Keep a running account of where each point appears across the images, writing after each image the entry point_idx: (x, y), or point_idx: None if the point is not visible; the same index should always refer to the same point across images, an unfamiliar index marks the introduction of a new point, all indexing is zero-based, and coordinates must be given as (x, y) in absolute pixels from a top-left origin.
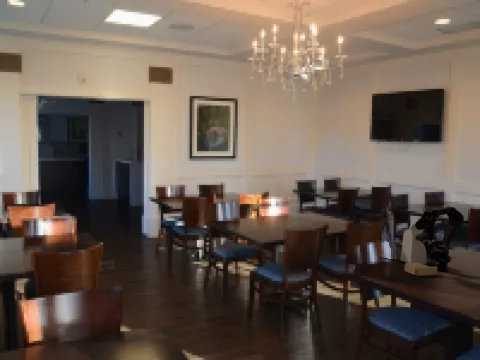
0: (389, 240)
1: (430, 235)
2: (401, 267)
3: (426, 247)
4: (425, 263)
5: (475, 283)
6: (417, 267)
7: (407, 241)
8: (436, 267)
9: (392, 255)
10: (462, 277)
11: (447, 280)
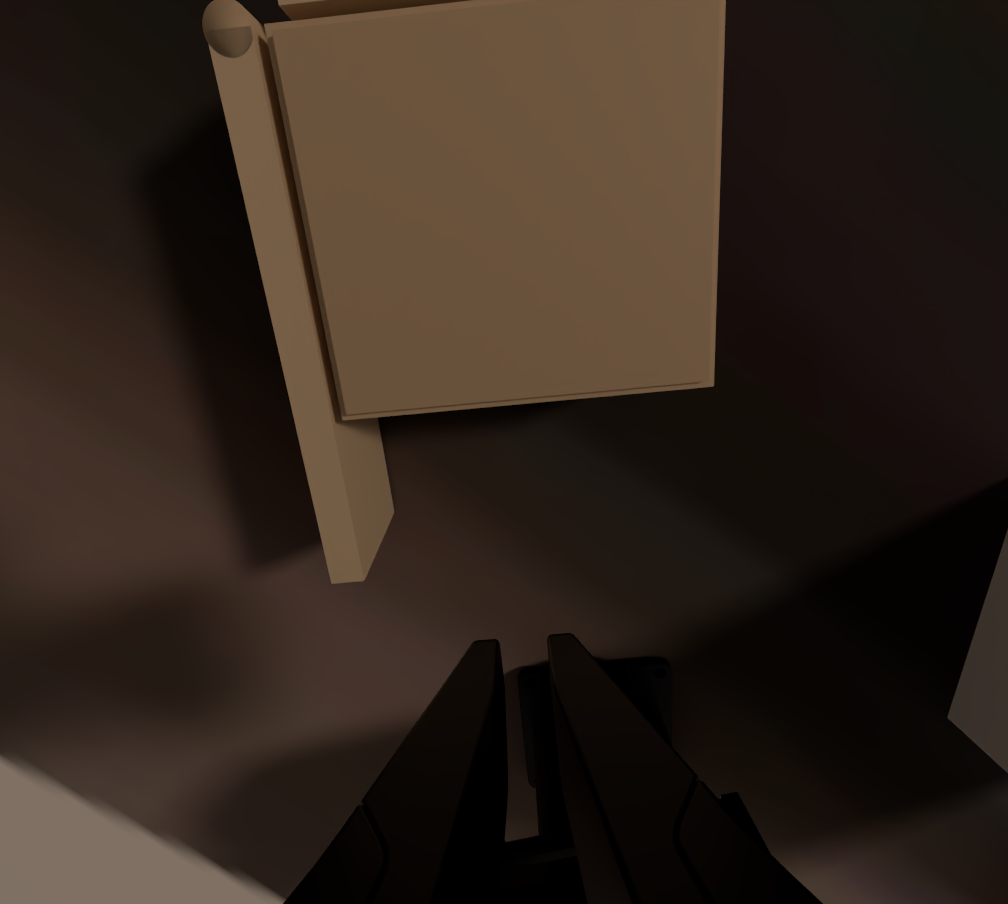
0: None
1: None
2: (928, 146)
3: (612, 855)
4: (955, 711)
5: None
6: (276, 47)
7: None
8: (329, 560)
9: None
10: (250, 765)
11: (78, 491)
